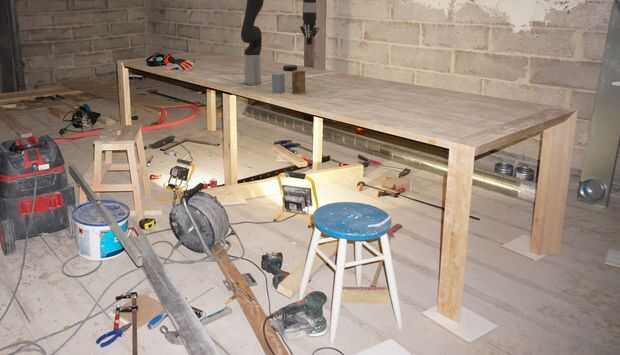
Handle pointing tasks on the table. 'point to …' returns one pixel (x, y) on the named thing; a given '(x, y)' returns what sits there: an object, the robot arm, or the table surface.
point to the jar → (288, 74)
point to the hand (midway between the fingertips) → (309, 44)
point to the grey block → (278, 82)
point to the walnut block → (298, 82)
